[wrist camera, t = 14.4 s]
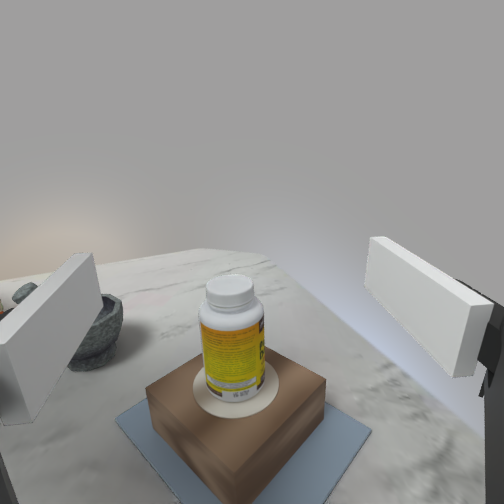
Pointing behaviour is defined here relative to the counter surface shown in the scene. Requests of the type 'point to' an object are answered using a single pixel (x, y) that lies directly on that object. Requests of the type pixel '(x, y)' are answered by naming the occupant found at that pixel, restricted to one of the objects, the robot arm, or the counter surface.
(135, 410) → the mat
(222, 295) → the supplement bottle
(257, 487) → the foundation block
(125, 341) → the counter surface
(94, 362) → the mortar and pestle
